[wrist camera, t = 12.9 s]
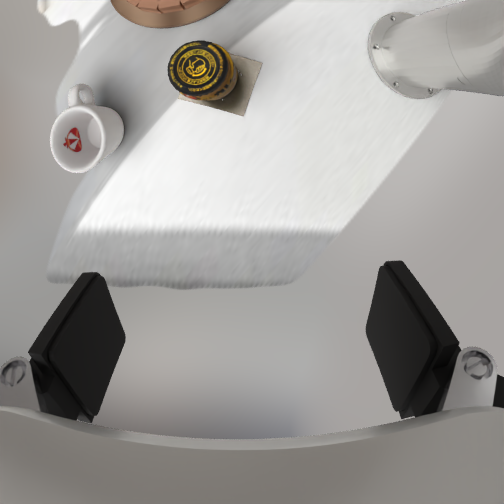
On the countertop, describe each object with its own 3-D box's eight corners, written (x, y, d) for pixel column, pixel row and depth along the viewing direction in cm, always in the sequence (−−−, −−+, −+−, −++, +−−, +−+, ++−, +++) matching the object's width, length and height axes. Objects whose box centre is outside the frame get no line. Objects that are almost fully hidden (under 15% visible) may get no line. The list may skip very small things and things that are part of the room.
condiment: (195, 46, 30) (172, 25, 19) (262, 63, 31) (268, 47, 20) (178, 98, 33) (147, 100, 23) (243, 116, 34) (240, 124, 24)
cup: (72, 94, 31) (39, 97, 24) (121, 74, 31) (92, 72, 24) (88, 164, 37) (58, 181, 30) (137, 150, 36) (112, 163, 29)
